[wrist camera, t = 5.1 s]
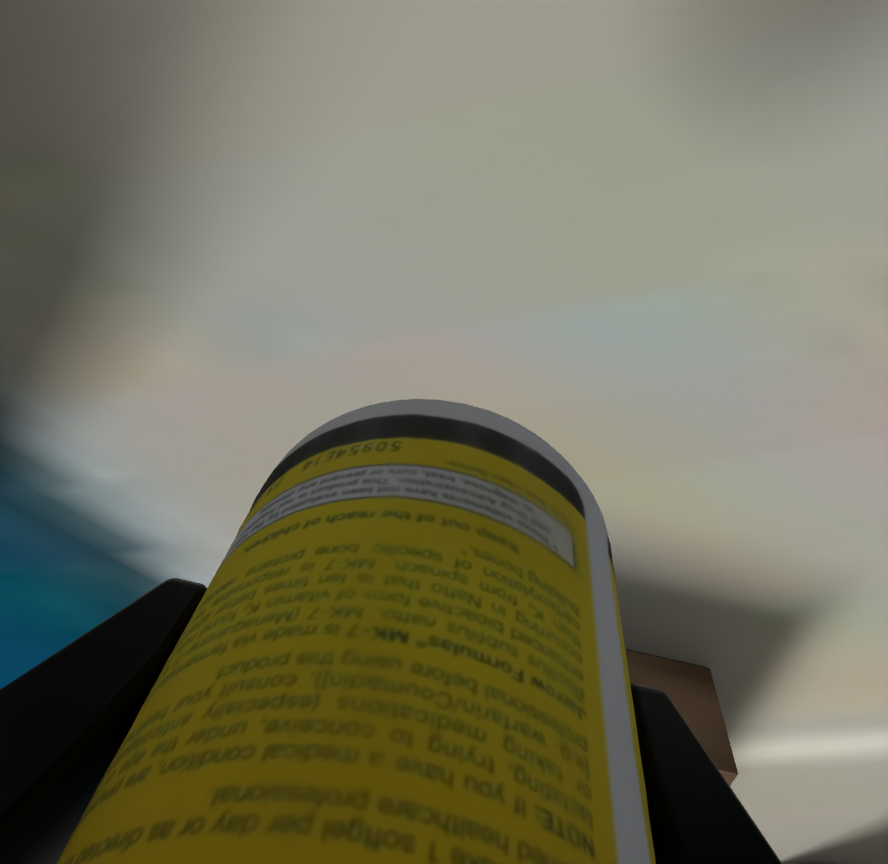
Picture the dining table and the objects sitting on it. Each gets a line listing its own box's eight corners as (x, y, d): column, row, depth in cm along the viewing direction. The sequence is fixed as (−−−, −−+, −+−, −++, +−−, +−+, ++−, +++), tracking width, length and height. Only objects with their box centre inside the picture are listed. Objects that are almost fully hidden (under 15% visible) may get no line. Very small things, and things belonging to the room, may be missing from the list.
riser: (304, 801, 29) (273, 907, 26) (343, 584, 23) (310, 685, 20) (594, 866, 29) (602, 980, 26) (709, 668, 23) (740, 783, 20)
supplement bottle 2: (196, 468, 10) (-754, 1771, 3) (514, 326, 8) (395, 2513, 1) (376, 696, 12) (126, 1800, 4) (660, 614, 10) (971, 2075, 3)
